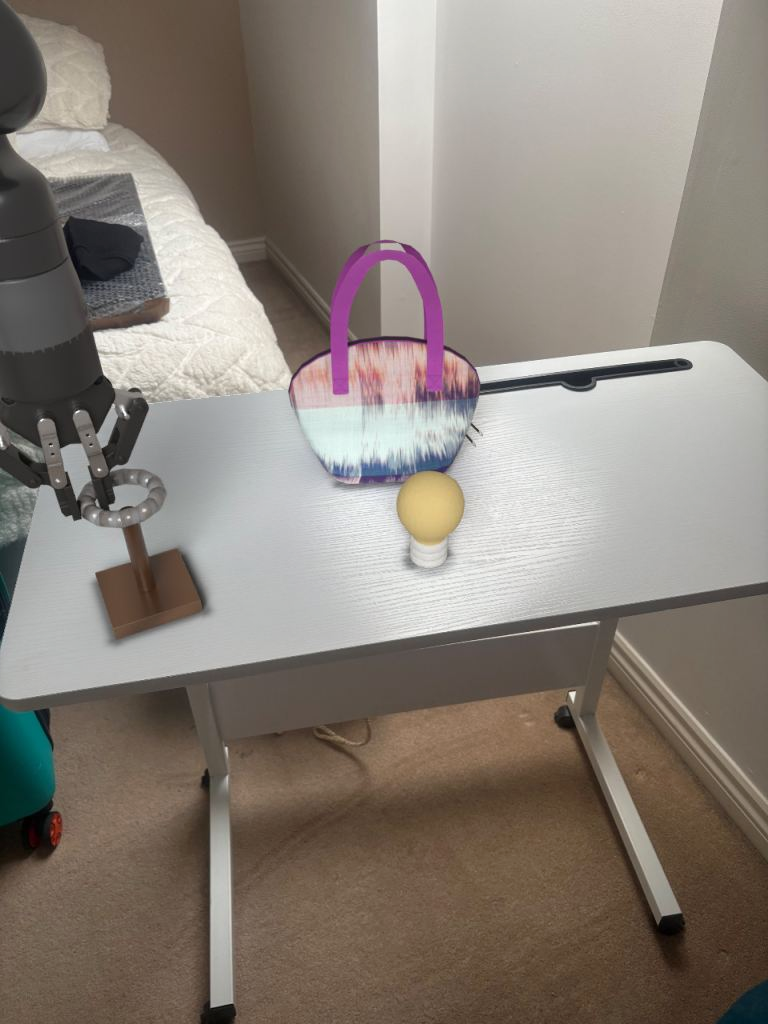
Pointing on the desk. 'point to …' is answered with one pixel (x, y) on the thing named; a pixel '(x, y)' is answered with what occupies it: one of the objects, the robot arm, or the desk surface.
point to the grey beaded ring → (131, 514)
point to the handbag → (385, 388)
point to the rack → (146, 588)
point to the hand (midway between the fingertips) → (89, 510)
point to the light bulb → (430, 515)
